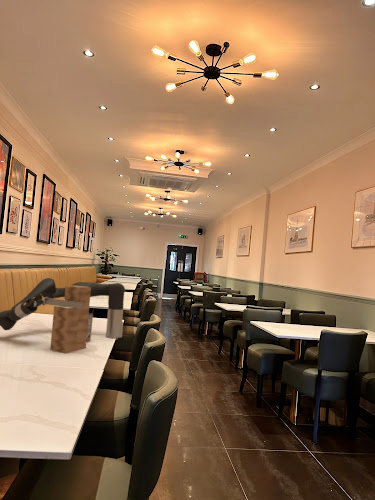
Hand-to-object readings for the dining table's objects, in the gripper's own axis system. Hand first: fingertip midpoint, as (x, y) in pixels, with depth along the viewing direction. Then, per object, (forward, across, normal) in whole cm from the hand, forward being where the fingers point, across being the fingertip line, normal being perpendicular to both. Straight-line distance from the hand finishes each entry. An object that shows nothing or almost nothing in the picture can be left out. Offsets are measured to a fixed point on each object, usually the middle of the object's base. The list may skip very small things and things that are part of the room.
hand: (47, 295), depth 186 cm
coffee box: (-8, +23, +26) cm, 35 cm away
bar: (+8, 0, +9) cm, 12 cm away
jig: (-2, +4, +29) cm, 30 cm away
